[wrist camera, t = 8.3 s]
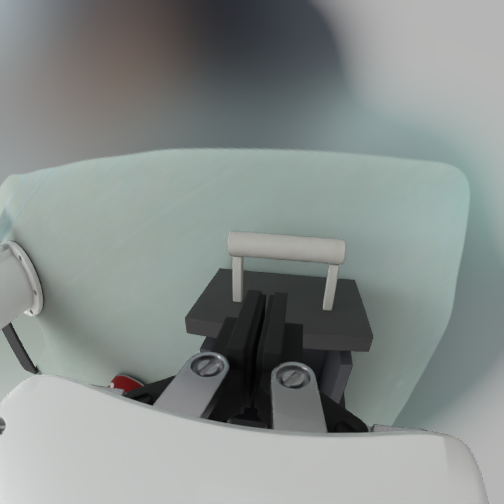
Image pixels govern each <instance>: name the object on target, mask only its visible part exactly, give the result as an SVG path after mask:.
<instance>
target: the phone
mask: <svg viewBox="0 0 504 504" xmlns="http://www.w3.org/2000/svg"><path fill="white" fill-rule="evenodd" d="M2 331H3V333H4V334H5V336H6V338H7V340H8V342H9V344H10V346H11V348H12V350H13V351H14V353H15V355H16V357H17V358H18V360H19V361H20V363H21V365H22V367H23V368H24V369H25V370H27V371H29V372H31V373H34V374H37V373H38V371H37V369H36V368H35V366H34V364H33V363H32V361H31V359H30V358H29V356H28V354H27V352H26V351H25V349H24V347H23V345H22V343H21V341H20V340H19V338H18V336H17V334H16V332H15V330H14V328H13V326H12V324H11V322H10V323H9V324H8V325H6V326H5V327H4V328H2Z"/></svg>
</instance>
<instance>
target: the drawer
mask: <svg viewBox="0 0 504 504" xmlns="http://www.w3.org/2000/svg"><path fill="white" fill-rule="evenodd" d="M227 249H228V254H229V255H233V257H232V260H233V270H231V269H221V268H220V269H219V270H218V272H217V273H216V274H215V276H214V277H213V279H212V280H211V282H210V283H209V284H208V286H207V287H206V289H205V290H204V291H203V293H202V294H201V296H200V297H199V299H198V300H197V301H196V303H195V304H194V306H193V307H192V309H191V310H190V311H189V313H188V314H187V316H186V317H185V322H186V330H187V333H190V334H196V335H201V336H206V338H205V340H204V342H203V344H202V346H201V348H200V353H202V352H211V349H212V347H213V345H214V343H215V340H216V338H217V336H218V334H219V331H220V329H221V327H222V325H223V322H224V320H225V318H226V317H235V318H238V316H239V313H240V310H241V308H242V305H243V302H244V300H245V297H246V294H247V292H248V290H249V289H250V290H260V291H261V292H262V294H266V307H265V314H266V310H267V305H268V300H269V296H270V295H275V292H283V293H288V296H287V307H286V317H285V323H297V324H303V364H305V365H306V366H308V367H310V368H311V369H312V370H313V372H314V374H315V377H316V382H317V386H318V389H319V390H320V391H321V392H323V393H324V394H325V395H327V396H328V397H330V398H331V399H332V400H334V401H335V402H336V403H338V404H339V402H340V400H341V397H342V394H343V392H344V389H345V386H346V383H347V381H348V378H349V375H350V372H351V369H352V366H353V364H352V357H351V351H362V352H368V351H369V349H370V346H371V343H372V340H373V334H372V331H371V327H370V324H369V321H368V318H367V315H366V311H365V308H364V305H363V302H362V299H361V296H360V294H359V291H358V288H357V285H356V282H355V280H348V279H337V277H338V271H339V264H343V263H344V260H345V254H346V243H345V240H341V239H330V238H318V237H306V236H293V235H280V234H267V233H253V232H239V231H231V232H230V234H229V237H228V243H227ZM243 256H245V257H257V258H269V259H281V260H293V261H305V262H317V263H329V267H328V274H327V278H322V277H309V276H297V275H286V274H274V273H263V272H252V271H243ZM254 402H255V388H254V393H253V397H252V402H251V406H250V408H249V407H245V410H244V414H238V415H236V416H234V417H232V418H237V419H243V420H249V421H256V422H263V421H262V420H261V419H260V418H259V417H258V409H257V408H254Z"/></svg>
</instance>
